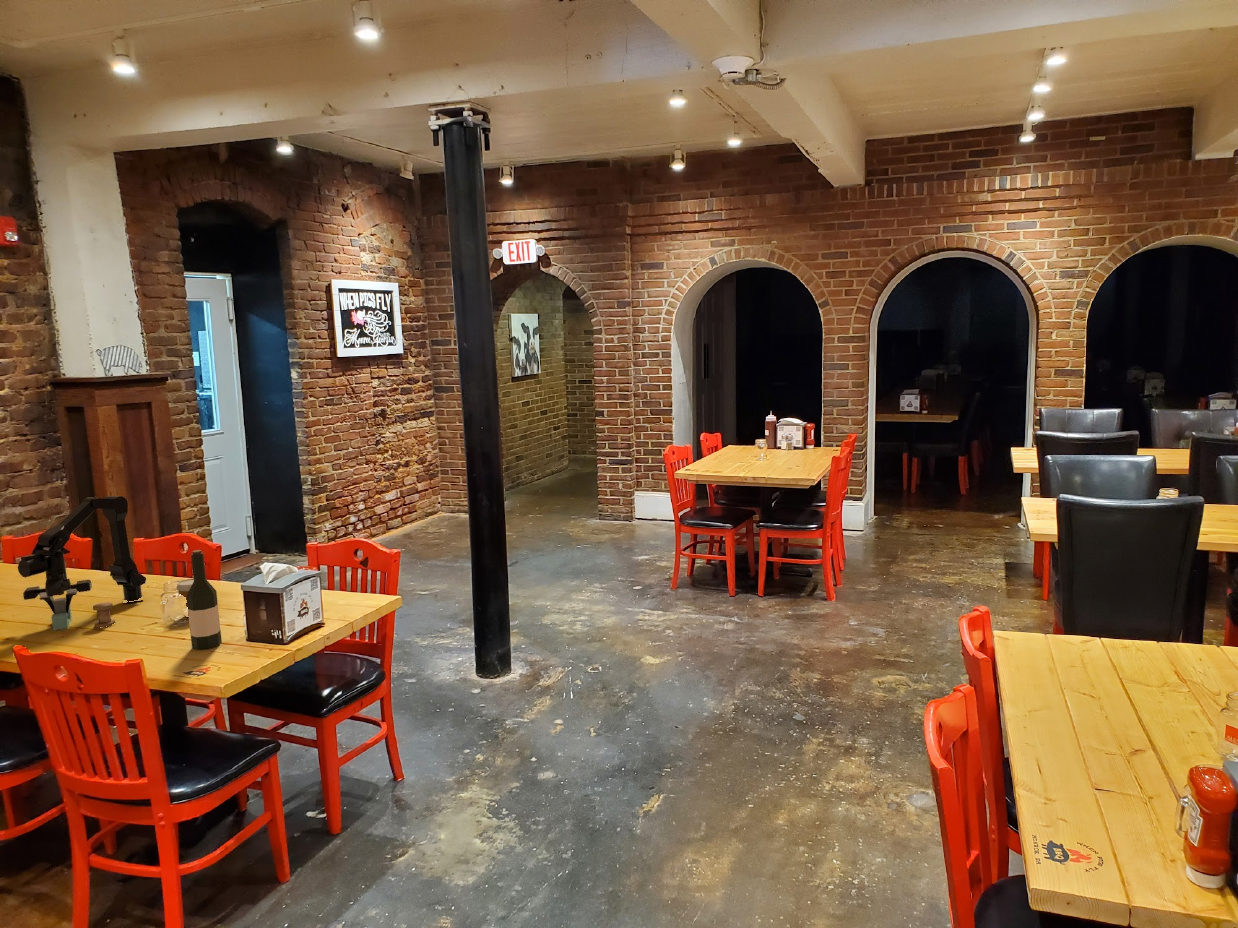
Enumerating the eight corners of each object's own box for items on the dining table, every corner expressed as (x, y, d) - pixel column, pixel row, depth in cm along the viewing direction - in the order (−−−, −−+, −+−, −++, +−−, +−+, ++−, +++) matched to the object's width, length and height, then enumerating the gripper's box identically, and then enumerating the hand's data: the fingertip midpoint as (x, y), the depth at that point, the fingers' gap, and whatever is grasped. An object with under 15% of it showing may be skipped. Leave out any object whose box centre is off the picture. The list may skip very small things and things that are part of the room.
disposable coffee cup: (215, 613, 289) (212, 579, 287) (188, 621, 281) (185, 586, 279) (200, 609, 294) (197, 576, 292) (174, 616, 286) (170, 583, 284)
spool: (95, 624, 281) (93, 604, 280) (116, 620, 284) (113, 601, 283) (93, 629, 276) (91, 608, 275) (114, 625, 278) (112, 605, 277)
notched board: (58, 620, 286) (56, 606, 285) (71, 618, 288) (70, 604, 287) (53, 630, 276) (51, 616, 275) (67, 628, 277) (65, 614, 277)
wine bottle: (209, 650, 252) (199, 554, 248) (185, 649, 254) (175, 554, 250) (227, 641, 260) (218, 547, 256) (204, 639, 262) (194, 547, 258)
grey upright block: (57, 615, 282) (55, 598, 282) (67, 614, 284) (65, 597, 283) (55, 619, 279) (53, 601, 278) (66, 617, 280) (64, 600, 279)
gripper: (17, 579, 268) (24, 625, 270) (85, 570, 276) (91, 615, 278) (23, 571, 278) (29, 616, 280) (89, 562, 286) (94, 606, 288)
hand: (61, 613), depth 281 cm, fingers closed on grey upright block, 3 cm apart
